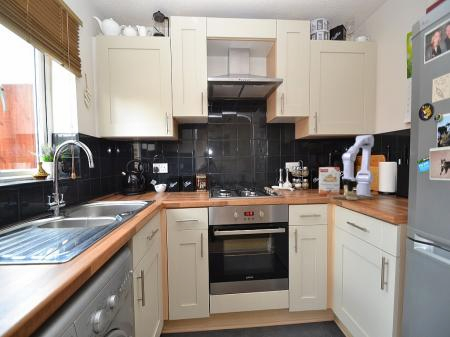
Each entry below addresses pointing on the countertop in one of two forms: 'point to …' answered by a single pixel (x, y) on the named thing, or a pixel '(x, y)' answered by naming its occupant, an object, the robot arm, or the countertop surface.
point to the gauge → (349, 194)
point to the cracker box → (329, 180)
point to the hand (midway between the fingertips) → (348, 190)
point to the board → (341, 197)
